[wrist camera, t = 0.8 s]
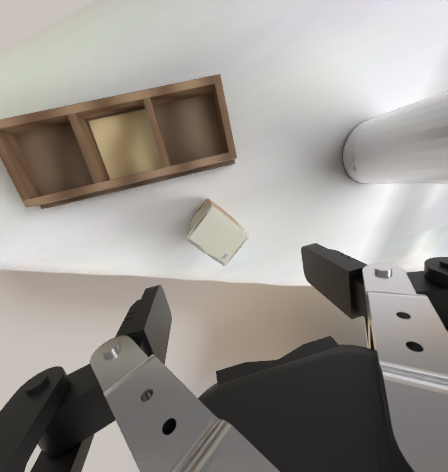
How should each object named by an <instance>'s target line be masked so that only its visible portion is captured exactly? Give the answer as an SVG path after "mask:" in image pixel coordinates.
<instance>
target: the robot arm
mask: <svg viewBox="0 0 448 472" xmlns="http://www.w3.org/2000/svg"><path fill="white" fill-rule="evenodd" d="M343 163H344V167H345V169H346V172H347V173H348V175H349V176H350V177H351V178H352V179H353V180H355V181H357V182H360V183H381V184H448V91H446V92H444V93H441V94H438V95H435V96H433V97H430V98H427V99H424V100H422V101H419V102H416V103H413V104H411V105H408V106H405V107H402V108H399V109H397V110H394V111H391V112H388V113H385V114H383V115H380V116H377V117H374V118H372V119H369V120H366V121H364V122H362V123H361V124H359V125H358V126H357V127H356V128H355V129H354V130H353V131H352V132H351V133H350V135H349V137H348V138H347V141H346V143H345V146H344V151H343ZM301 253H302V261H303V269H304V274H305V277H306V279H307V281H308V282H309V283H310V284H311V285H312V286H314V287H315V288H316V289H317V290H318V291H319V292H321V293H322V294H323V295H324V296H325V297H326V298H327V299H329V300H330V301H331V302H332V303H333V304H334V305H336V306H337V307H338V308H339V309H340V310H341V311H343V312H344V313H345V314H346V315H347V316H348V317H350V318H351V319H354V318H357V317H360V316H364V317H365V330H366V338H367V347H368V348H366V347H361V346H355V345H338V344H337V343H336V342H335V340H334V339H333V338H332V337H331V336H329V337H325V338H322V339H319V340H316V341H313V342H310V343H306V344H303V345H302V346H300V347H298V348H297V349H295V350H293V351H292V352H290V353H289V354H287V355H285V356H284V357H282V358H280V359H278V360H271V361H257V362H245V363H242V364H238V365H235V366H232V367H229V368H225V369H222V370H219V371H216V375H217V383H216V384H214V385H213V386H211V387H210V388H209V389H208V390H206V391H205V392H204V393H203V394H202V395H201V396H200V397H199V398H197V397H196V396H195V395H194V394H193V393H192V392H191V391H190V390H189V389H188V388H187V387H186V386H185V385H184V384H183V383H182V382H181V381H180V380H179V379H178V378H177V377H176V376H175V375H174V374H173V373H172V372H171V371H170V370H169V369H168V368H167V367H166V366H165V365H164V364H165V358H166V352H167V345H168V340H169V333H170V327H171V321H172V318H171V312H170V308H169V305H168V303H167V300H166V297H165V294H164V291H163V288H162V286H161V285H158V286H154V287H150V288H147V289H145V291H144V294H143V296H142V298H141V300H138V301H136V302H135V303H134V304H133V305H132V306H131V307H130V309H129V311H128V313H127V315H126V317H125V319H124V321H123V323H122V325H121V327H120V329H119V331H118V332H117V335H116V336H115V338H112V339H110V340H109V341H107V342H105V343H104V344H102V345H101V346H100V347H99V348H98V349H97V350H96V351H95V352H94V353H93V355H92V356H91V359H90V364H88V365H86V366H84V367H83V368H80V369H79V370H76V371H75V372H73V373H71V374H69V375H66V373H65V371H64V369H63V368H62V367H52V368H49V369H47V370H45V371H43V372H41V373H39V374H37V375H36V376H34V377H33V378H31V379H30V380H28V381H27V382H26V383H25V384H24V385H23V386H21V387H20V388H19V389H18V390H17V391H16V393H15V394H14V395H13V396H12V398H11V399H10V400H9V401H8V402H7V404H6V405H5V406H4V408H3V409H2V410H1V411H0V472H24V471H25V467H26V464H27V462H28V460H29V458H30V456H31V454H32V453H33V451H34V449H35V447H36V445H37V444H38V445H39V446H40V448H41V450H42V451H41V453H40V455H39V456H38V459H37V460H36V462H35V464H34V466H33V468H32V470H31V471H30V472H81V471H82V468H83V465H84V462H85V459H86V457H87V454H88V451H89V448H90V445H91V442H92V439H93V436H94V433H96V432H98V431H99V430H101V429H102V428H104V427H106V426H107V425H109V424H110V423H112V422H113V421H115V420H116V421H117V423H118V426H119V428H120V430H121V432H122V434H123V436H124V438H125V440H126V443H127V445H128V447H129V449H130V451H131V453H132V455H133V458H134V460H135V462H136V464H137V466H138V468H139V470H140V472H448V257H436V258H430V259H428V260H426V261H425V265H424V271H419V272H408V273H406V272H405V270H403V269H402V268H400V267H398V266H395V265H391V264H381V263H378V264H370V265H367V264H365V263H362V262H360V261H358V260H356V259H354V258H351V257H350V256H347V255H344V254H343V253H341V252H339V251H336V250H331V249H327V248H325V247H323V246H321V245H319V244H317V243H314V244H311V245H307V246H303V247H302V249H301Z"/></svg>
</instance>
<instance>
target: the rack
mask: <svg viewBox="0 0 448 472" xmlns="http://www.w3.org/2000/svg"><path fill="white" fill-rule="evenodd" d="M0 157H1V159H2V161H3V163H4V165H5V167H6V169H7V171H8V173H9V175H10V177H11V179H12V181H13V183H14V185H15V187H16V189H17V191H18V193H19V195H20V197H21V199H22V201H23V203H24V205H25V207H32V206H39V205H40V206H41V209H44V208H49V207H53V206H57V205H61V204H66V203H70V202H74V201H78V200H82V199H87V198H91V197H95V196H99V195H103V194H108V193H112V192H116V191H120V190H125V189H129V188H133V187H137V186H141V185H146V184H150V183H154V182H158V181H162V180H167V179H171V178H175V177H179V176H184V175H188V174H192V173H196V172H200V171H205V170H209V169H213V168H217V167H221V166H226V165H230V164H234V163H235V160H234V159H235V158H237V157H236V152H235V147H234V142H233V137H232V132H231V127H230V122H229V117H228V112H227V107H226V102H225V97H224V92H223V87H222V82H221V77H220V74H219V75H214V76H209V77H204V78H199V79H195V80H190V81H185V82H180V83H175V84H170V85H166V86H161V87H156V88H151V89H146V90H141V91H137V92H132V93H127V94H122V95H117V96H112V97H107V98H103V99H98V100H93V101H88V102H83V103H78V104H74V105H69V106H64V107H59V108H54V109H49V110H45V111H40V112H35V113H30V114H25V115H20V116H16V117H11V118H6V119H1V120H0Z"/></svg>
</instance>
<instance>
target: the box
mask: <svg viewBox="0 0 448 472" xmlns="http://www.w3.org/2000/svg"><path fill="white" fill-rule="evenodd" d="M248 237H249V234H248V233H247V232H246V231H245V230H244V229H243V228H242V227H241V226H240V225H239V224H238V223H237V222H236V221H235V220H234V219H233V218H232V217H231V216H230V215H229V214H227V213H226V212H225V211H224V210H222V209H221V208H220V207H218V206H217V205H216V204H215V203H213V202H212V201H211V200H209V199H207V200H206V201H205V203H204V204H203V205H202V206H201V208H200V209H199V210H198V211H197V213H196V214H195V215H194V217H193V218H192V220H191V223H190V227H189V230H188V234H187V237H186V239H187V241H189V242H190V243H191V244H193V245H194V246H196V247H197V248H198V249H200V250H201V251H203V252H204V253H206V254H207V255H209V256H210V257H211V258H213V259H214V260H216V261H217V262H219V263H220V264H222V265H223V266H226V265H227V263H228V262H229V261H230V260H231V259H232V257H233V256H234V255H235V254H236V252H237V251H238V250H239V249H240V247H241V246H242V245H243V243H244V242H245V241H246V239H247V238H248Z"/></svg>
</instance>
